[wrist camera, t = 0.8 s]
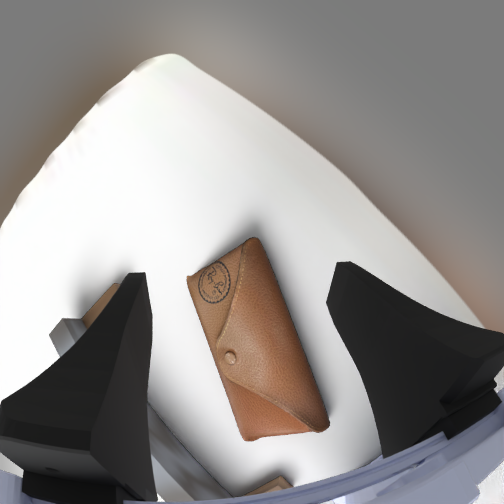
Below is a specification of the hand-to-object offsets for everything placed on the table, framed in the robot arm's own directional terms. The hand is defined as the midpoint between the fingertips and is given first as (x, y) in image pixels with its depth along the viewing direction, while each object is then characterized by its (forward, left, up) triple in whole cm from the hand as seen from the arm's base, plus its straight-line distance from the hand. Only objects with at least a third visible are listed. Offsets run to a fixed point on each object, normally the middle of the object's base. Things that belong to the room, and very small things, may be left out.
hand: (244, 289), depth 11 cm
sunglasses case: (-1, +5, -17) cm, 17 cm away
